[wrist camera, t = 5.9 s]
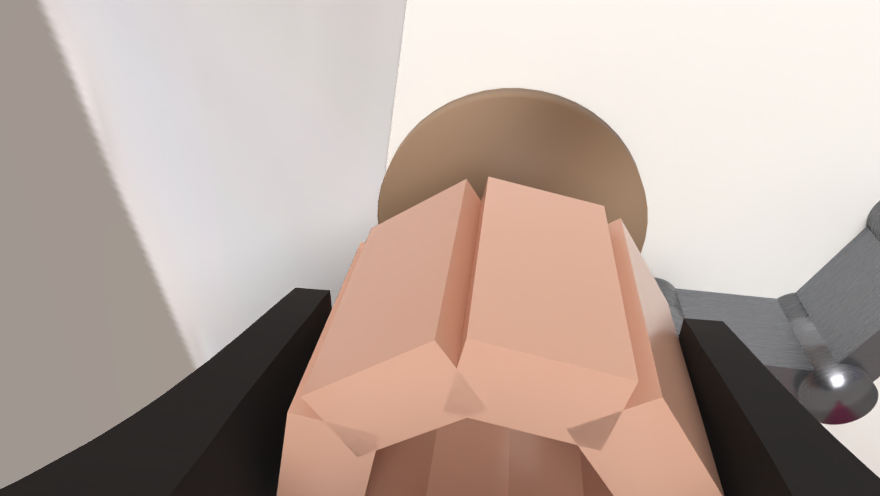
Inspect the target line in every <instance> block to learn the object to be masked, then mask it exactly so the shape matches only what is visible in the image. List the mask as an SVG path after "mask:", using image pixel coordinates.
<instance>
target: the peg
mask: <svg viewBox="0 0 880 496" xmlns="http://www.w3.org/2000/svg"><path fill="white" fill-rule="evenodd" d="M488 177H492V178H496V179H500V180H504V181H508V182H512V183H516V184H520V185H524V186H528V187H532V188H536V189H539V190H543V191H547V192H551V193H555V194H559V195H563V196H567V197H571V198H575V199H579V200H583V201H587V202H590V203H594V204H598V205H602V206H604V208H605V213H606V218H607V223H608V224H609V223H611V222H613V221H615V220H618V219H620V218H621V219H622V221H623V223H624V225H625V227H626V228H627V230H628V232H629V234H630V236H631V237H632V239H633V241H634V243H635V245H636V246H637V248H638V250H639V252H640V254H641V251H642V248H643V245H644V242H645V238H646V231H647V224H648V207H647V201H646V195H645V190H644V187H643V184H642V181H641V178H640V175H639V172H638V169H637V166H636V163H635V161H634V159H633V157H632V155H631V153H630V151H629V149H628V148H627V146H626V145H625V144H624V142H623V141H622V139H621V138H620V137H619V135H618V134H617V133H616V132H615V131H614V130H613V129H612V128H611V127H610V126H609V125H608V124H607V123H606V122H605V121H604V120H602V119H601V118H600V117H598V116H597V115H596V114H595V113H593V112H592V111H590V110H588V109H587V108H585V107H583V106H582V105H580V104H578V103H576V102H574V101H571V100H569V99H567V98H564V97H562V96H559V95H556V94H552V93H548V92H544V91H540V90H532V89H525V88H500V89H492V90H484V91H480V92H477V93H473V94H469V95H466V96H463V97H461V98H458V99H456V100H453V101H451V102H449V103H447V104H445V105H443V106H442V107H440V108H438V109H436V110H435V111H433V112H432V113H431V114H429V115H428V116H427V117H425V118H424V119H423V120H421V121H420V122H419V123H418V124H417V125H416V126H415V127H414V128H413V129H412V130H411V131H410V132H409V133H408V135H407V136H406V137H405V139H404V140H403V141H402V143H401V144H400V146H399V147H398V149H397V151H396V153H395V155H394V157H393V158H392V160H391V162H390V165H389V167H388V169H387V171H386V174H385V177H384V180H383V183H382V185H381V190H380V195H379V200H378V225H379V224H381V223H383V222H384V221H386V220H388V219H390V218H392V217H394V216H396V215H398V214H400V213H402V212H404V211H406V210H408V209H409V208H411V207H413V206H415V205H417V204H419V203H421V202H423V201H425V200H427V199H429V198H431V197H433V196H434V195H436V194H438V193H440V192H442V191H444V190H446V189H448V188H450V187H452V186H454V185H456V184H458V183H459V182H461V181H463V180H465V179H467V180H468V182H469V183H470V185H471V186H472V188H473V189H474V191H475V192H476V194H477V196H478V197H479V199H480V200H482V196H483V193H484V190H485V186H486V183H487V179H488Z"/></svg>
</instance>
